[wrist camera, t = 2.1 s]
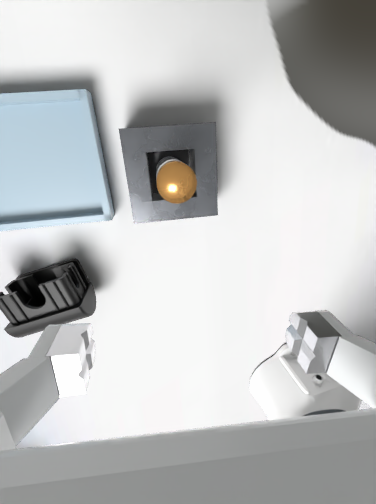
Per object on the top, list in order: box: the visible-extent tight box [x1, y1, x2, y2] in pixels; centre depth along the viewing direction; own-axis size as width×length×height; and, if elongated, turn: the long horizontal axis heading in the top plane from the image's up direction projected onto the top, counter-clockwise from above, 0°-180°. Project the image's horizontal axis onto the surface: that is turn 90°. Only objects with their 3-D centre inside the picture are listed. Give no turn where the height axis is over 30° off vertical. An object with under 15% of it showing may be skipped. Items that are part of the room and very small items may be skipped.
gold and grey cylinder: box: [156, 156, 197, 204], centre depth 27 cm, size 4×4×11 cm
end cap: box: [0, 259, 96, 337], centre depth 34 cm, size 10×7×7 cm
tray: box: [0, 89, 114, 231], centre depth 29 cm, size 16×14×2 cm
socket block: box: [119, 122, 218, 224], centre depth 30 cm, size 10×10×5 cm
